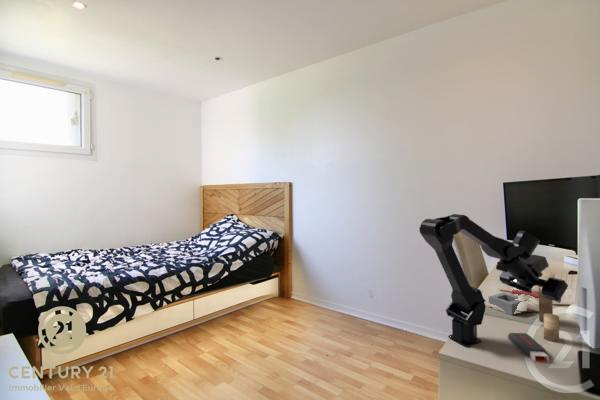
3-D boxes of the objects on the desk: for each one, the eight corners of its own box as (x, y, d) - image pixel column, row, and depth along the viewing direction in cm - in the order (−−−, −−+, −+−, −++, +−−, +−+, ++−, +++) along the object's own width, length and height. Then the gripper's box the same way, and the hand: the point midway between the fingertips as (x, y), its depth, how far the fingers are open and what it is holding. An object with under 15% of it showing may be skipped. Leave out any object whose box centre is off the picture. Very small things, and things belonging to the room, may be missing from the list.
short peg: (554, 343, 88) (554, 319, 88) (541, 337, 91) (540, 314, 91) (561, 340, 89) (561, 317, 89) (548, 335, 93) (548, 312, 92)
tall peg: (548, 324, 99) (547, 284, 98) (536, 320, 102) (536, 281, 102) (555, 322, 100) (554, 283, 100) (543, 318, 104) (542, 280, 103)
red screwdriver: (499, 285, 132) (543, 293, 122) (499, 289, 132) (543, 297, 122) (497, 288, 129) (542, 296, 119) (497, 292, 129) (542, 300, 119)
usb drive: (527, 340, 91) (527, 331, 91) (552, 363, 79) (552, 353, 79) (507, 339, 92) (507, 330, 92) (530, 362, 80) (530, 352, 80)
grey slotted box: (511, 315, 107) (511, 304, 106) (488, 307, 114) (488, 296, 114) (527, 310, 110) (527, 299, 109) (504, 302, 118) (504, 292, 117)
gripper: (562, 254, 90) (590, 285, 93) (504, 243, 107) (529, 270, 111) (543, 284, 88) (572, 315, 91) (487, 268, 106) (513, 294, 109)
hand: (544, 296), depth 101 cm, fingers open, 9 cm apart
